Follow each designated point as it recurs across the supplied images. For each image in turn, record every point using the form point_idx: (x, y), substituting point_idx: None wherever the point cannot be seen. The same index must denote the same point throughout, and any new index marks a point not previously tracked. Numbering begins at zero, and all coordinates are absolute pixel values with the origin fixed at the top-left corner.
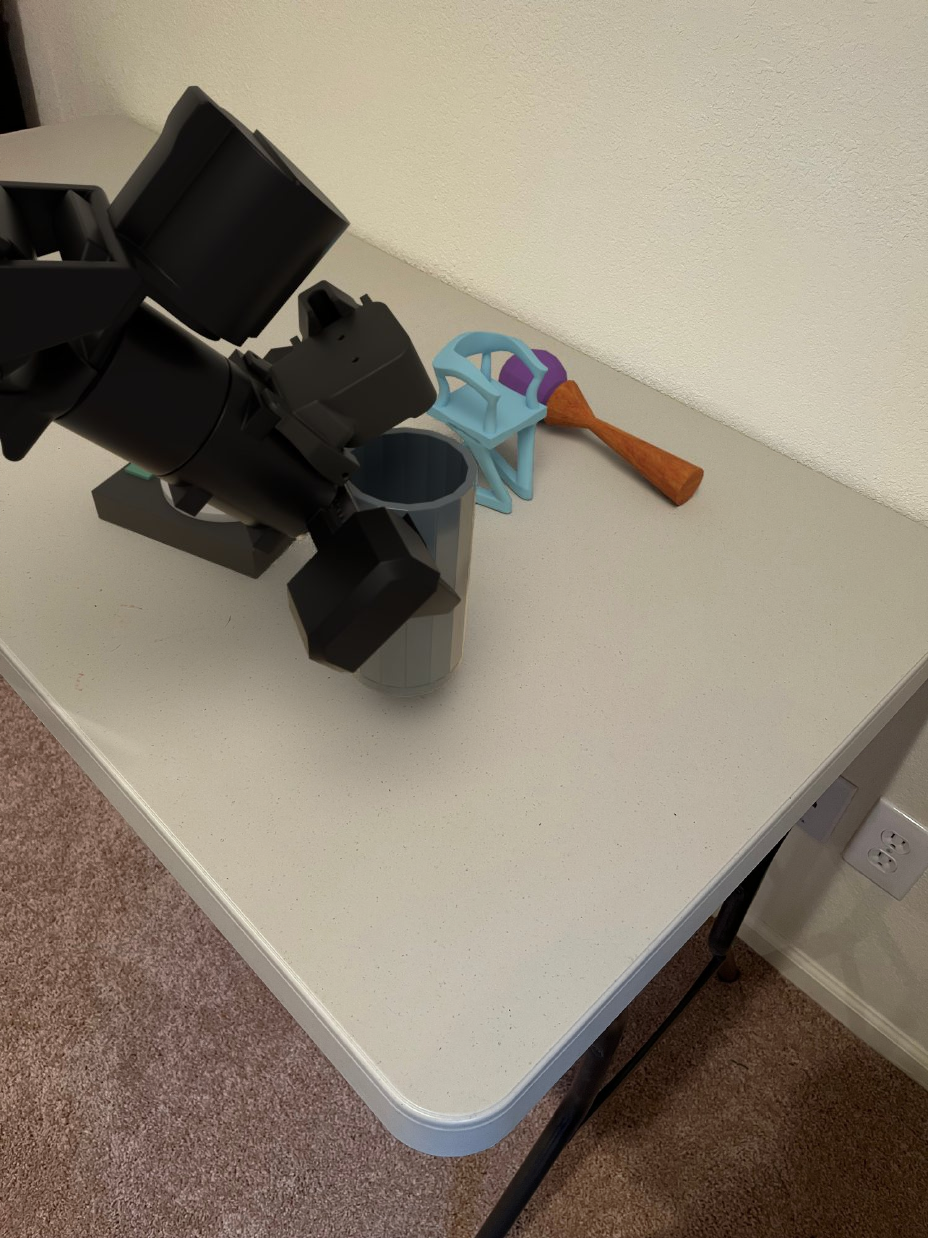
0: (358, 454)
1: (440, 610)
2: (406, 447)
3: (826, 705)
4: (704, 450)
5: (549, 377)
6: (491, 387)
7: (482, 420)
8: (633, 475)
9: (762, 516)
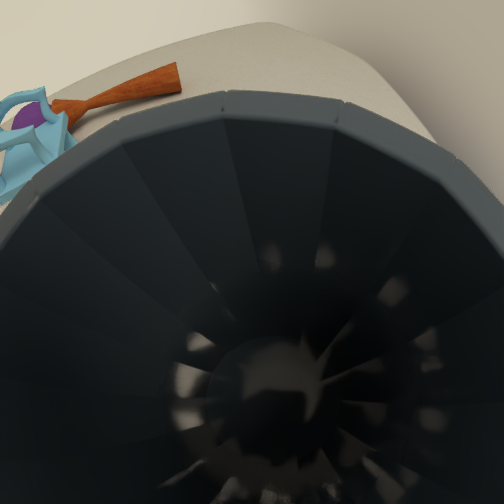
0: (8, 496)
1: None
2: (30, 296)
3: (389, 107)
4: (149, 66)
5: (41, 111)
6: (21, 130)
7: (36, 162)
8: (137, 104)
9: (221, 61)
